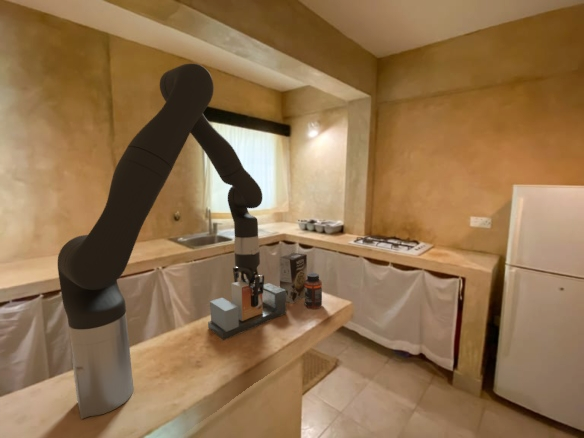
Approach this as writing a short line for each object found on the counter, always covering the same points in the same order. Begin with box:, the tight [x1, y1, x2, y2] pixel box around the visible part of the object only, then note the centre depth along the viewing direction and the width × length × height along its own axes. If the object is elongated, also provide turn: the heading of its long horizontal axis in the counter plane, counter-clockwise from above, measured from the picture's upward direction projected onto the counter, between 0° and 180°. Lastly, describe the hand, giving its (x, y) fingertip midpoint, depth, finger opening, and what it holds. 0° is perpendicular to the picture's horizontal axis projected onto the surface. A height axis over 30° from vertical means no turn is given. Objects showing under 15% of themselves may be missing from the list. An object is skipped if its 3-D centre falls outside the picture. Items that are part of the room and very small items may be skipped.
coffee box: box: [279, 252, 308, 304], centre depth 104 cm, size 9×6×16 cm
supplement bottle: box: [304, 272, 323, 310], centre depth 97 cm, size 6×6×11 cm
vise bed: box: [207, 282, 287, 341], centre depth 88 cm, size 23×9×8 cm, turn 133°
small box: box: [230, 281, 263, 321], centre depth 87 cm, size 8×6×10 cm
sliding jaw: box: [209, 297, 239, 332], centre depth 82 cm, size 4×9×6 cm, turn 43°
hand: (249, 302), depth 87 cm, fingers closed on small box, 5 cm apart
